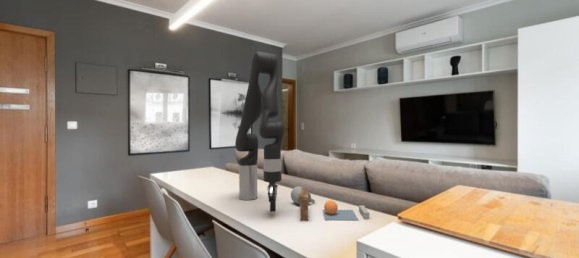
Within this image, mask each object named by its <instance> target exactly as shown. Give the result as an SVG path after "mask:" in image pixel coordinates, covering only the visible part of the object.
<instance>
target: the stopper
mask: <svg viewBox="0 0 579 258" xmlns="http://www.w3.org/2000/svg"><path fill="white" fill-rule="evenodd" d="M358 212H359V213H360V215H361V216H362V218H363V220H370V212H369V210H368V209H367V208H366V206H365V205H358Z"/></svg>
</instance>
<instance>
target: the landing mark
mask: <svg viewBox="0 0 579 258" xmlns="http://www.w3.org/2000/svg"><path fill="white" fill-rule="evenodd" d="M322 214H323V218H324V221H359V218H358V217H357V215H356V213H355V211H354V209H337V212H336V213H335V214H332V215H331V214H328V213H326V212H325V210H324V209H322Z"/></svg>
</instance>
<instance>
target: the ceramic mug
mask: <svg viewBox="0 0 579 258" xmlns="http://www.w3.org/2000/svg"><path fill="white" fill-rule="evenodd" d="M301 188H303V187H302V186H295V187H293V188H292V190H291V192H290V199H291V200H292V202H295V203H296V204H297V205H299V206H300V189H301ZM315 201H316V200H315V199H313V198H312V195H311V193H310V192H309V191H308V205H309V204H310V203H311V204H314V203H315Z"/></svg>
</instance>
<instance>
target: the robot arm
mask: <svg viewBox="0 0 579 258" xmlns="http://www.w3.org/2000/svg"><path fill="white" fill-rule="evenodd" d="M260 74H264V75H269V80H268V83H267V86H266V87H265V88H264V90H263V91H262V89H261V87H260V86H261V85H260V84H259V83H260V82H259V76H260ZM278 79H279V59H278V56H277V55H276V54H274V53H269V52H266V51H265V52H263V51H258V50H257V51H255V52H254V54H253V55H252V60H251V64H250V73H249V80H248V87H247V91H246V95H245V99H244V103H243V104H244V105H243V110H242V115H241V121H240V124H239V128H238V130H237V134H236V137H235V144H234V147H235V149H236V151H237V152H240V153H241V152H242V153H244V152H248V153H247V155H245V156H244V157H241V158H240V159H239V160H238V166H239V167H238V172H239V173H238V174H239V175H238V183H239V184H238V185H239V190H238V191H239V193H238V194H239V195H238V196H239V199H240V200H243V201H252V200H255V199H258V159H259V137H258V135H257V134H256V133H253V132H252V133H248V132H249V130H250V129H251V127H252V126H253V125H254V124H256V122H257V121H258V120H259V119H260V117H261V120H260V125H259V128H258V129H259V131H258V133H259V136H260V138H262V139H268V140H269V139H274V141H273V142H272V143H268V144H266V145H264V147H263V165H262V167H263V168H262V169H263V171H262V172H263V181H264V182H265V183H268V186H267V187H266V188H267V198H268V202H269V211H270V212H271V213H272V212H274V213H275V212H276V208H277V205H276V204H277V203H276V202H277V197H278V196H277V195H278V187H279V185H278V184H277V183H278V182H282V180H283V179H282V178H283V177H282V157H281V156H282V154H281V153H282V152H281V151H282V145H283V144H282V143H283V138H284V137H285V136H284V135H285V132H286V131H285V130H286V128H285V127H286V126H285V125H284V123H283V122H282V121H269V119H274V118H276V117H278V116H279V113H280V112H279V102H278V84H279V83H278V82H279V81H278Z"/></svg>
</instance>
